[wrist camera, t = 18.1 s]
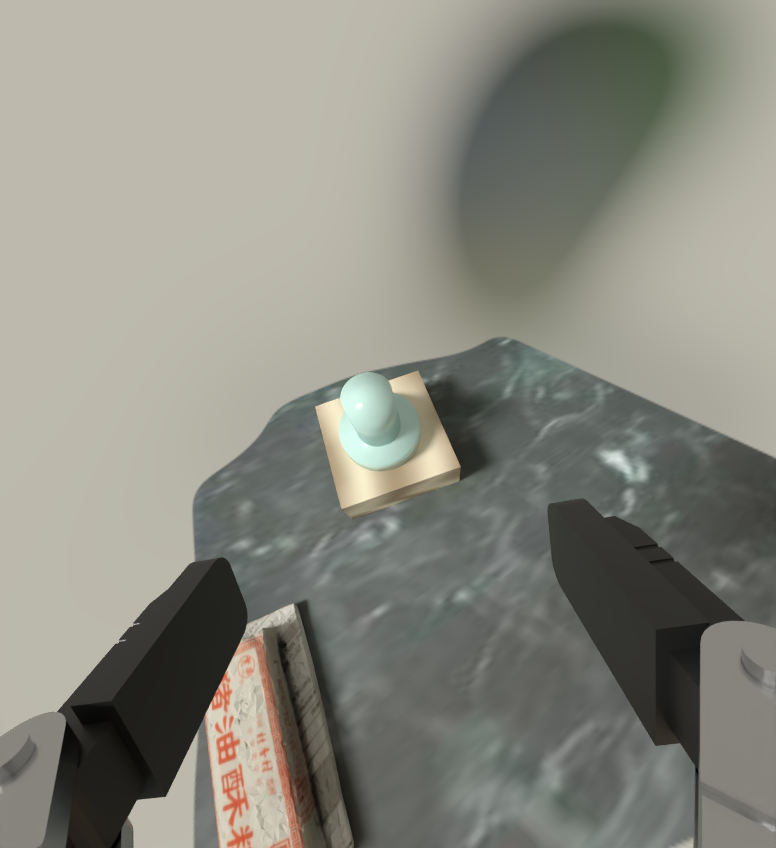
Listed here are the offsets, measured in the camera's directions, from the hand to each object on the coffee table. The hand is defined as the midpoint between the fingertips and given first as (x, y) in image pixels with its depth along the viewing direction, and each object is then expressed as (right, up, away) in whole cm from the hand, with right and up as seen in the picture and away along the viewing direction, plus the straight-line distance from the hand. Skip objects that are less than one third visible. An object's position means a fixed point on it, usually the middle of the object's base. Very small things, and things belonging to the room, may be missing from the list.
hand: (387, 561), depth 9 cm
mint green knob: (-1, +2, +28) cm, 28 cm away
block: (0, 0, +33) cm, 33 cm away
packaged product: (-10, -24, +23) cm, 34 cm away
